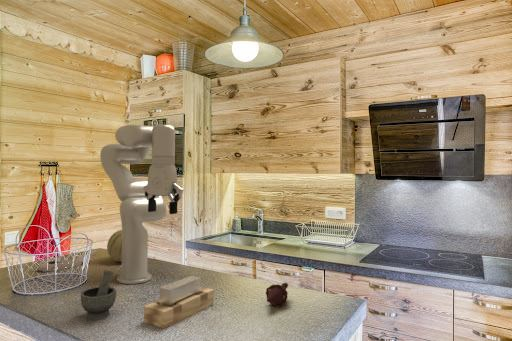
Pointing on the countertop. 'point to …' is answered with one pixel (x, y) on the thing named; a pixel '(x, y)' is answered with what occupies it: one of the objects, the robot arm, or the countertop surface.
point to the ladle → (61, 266)
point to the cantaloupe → (115, 246)
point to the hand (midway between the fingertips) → (162, 212)
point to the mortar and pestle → (99, 298)
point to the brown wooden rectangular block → (177, 309)
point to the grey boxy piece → (179, 290)
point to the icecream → (277, 294)
